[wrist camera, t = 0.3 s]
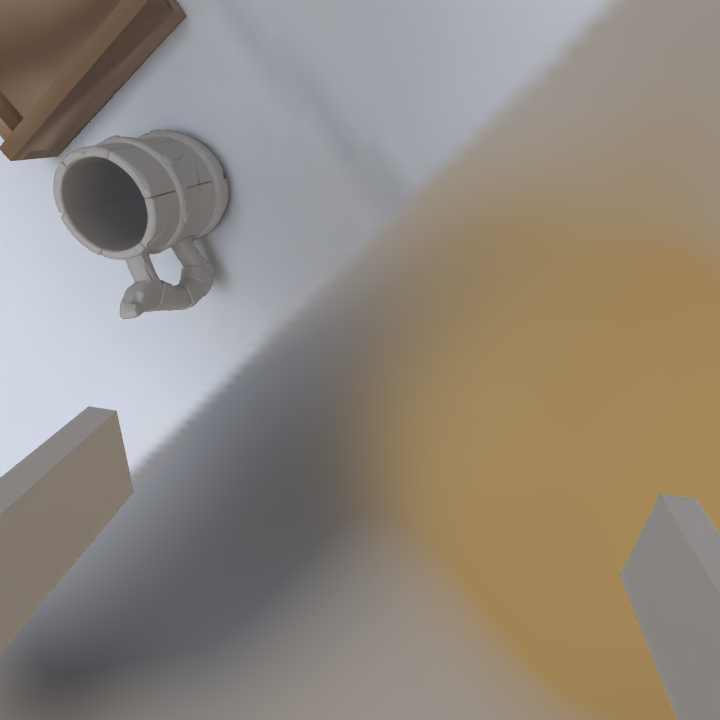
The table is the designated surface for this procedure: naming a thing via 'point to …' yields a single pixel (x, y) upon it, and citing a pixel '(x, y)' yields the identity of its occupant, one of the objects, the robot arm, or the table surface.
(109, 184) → the mug
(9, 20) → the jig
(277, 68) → the table surface
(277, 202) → the table surface
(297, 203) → the table surface
